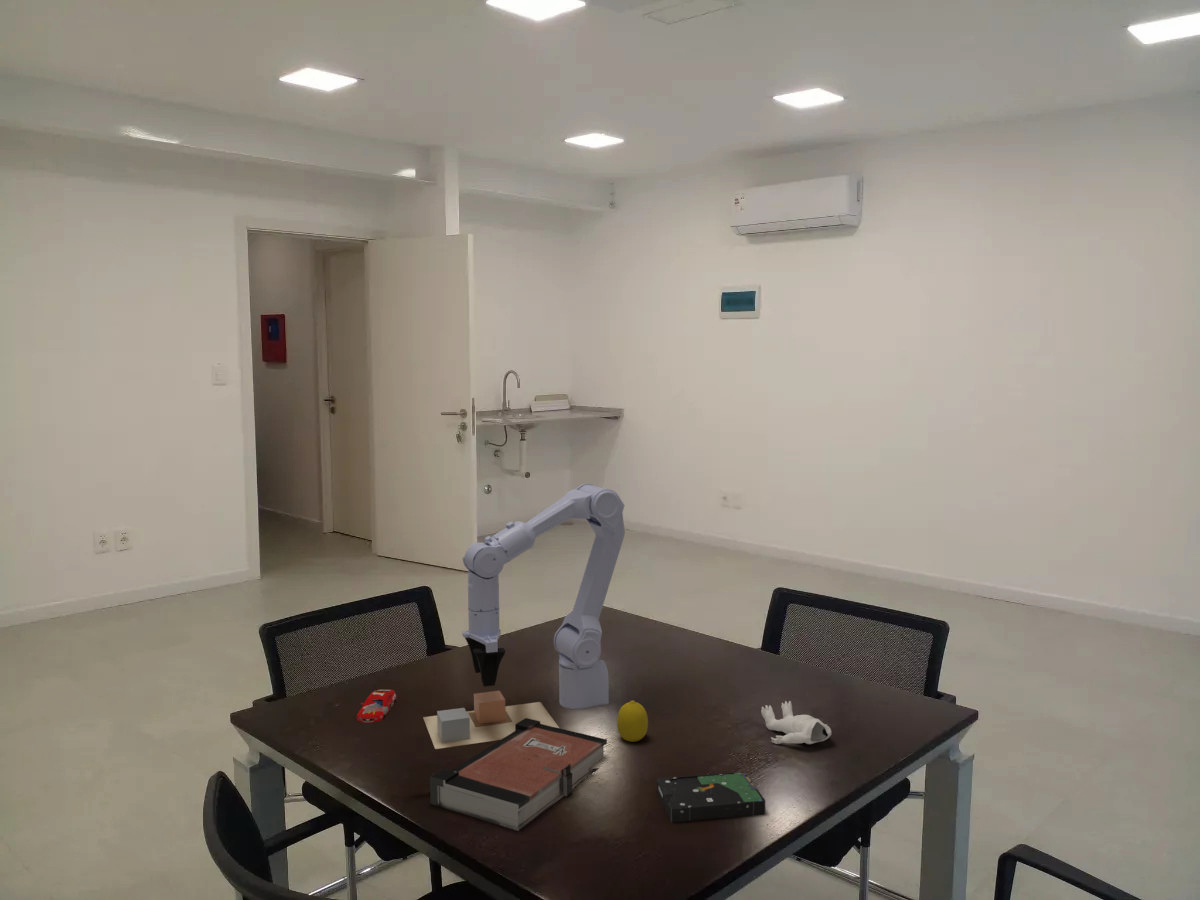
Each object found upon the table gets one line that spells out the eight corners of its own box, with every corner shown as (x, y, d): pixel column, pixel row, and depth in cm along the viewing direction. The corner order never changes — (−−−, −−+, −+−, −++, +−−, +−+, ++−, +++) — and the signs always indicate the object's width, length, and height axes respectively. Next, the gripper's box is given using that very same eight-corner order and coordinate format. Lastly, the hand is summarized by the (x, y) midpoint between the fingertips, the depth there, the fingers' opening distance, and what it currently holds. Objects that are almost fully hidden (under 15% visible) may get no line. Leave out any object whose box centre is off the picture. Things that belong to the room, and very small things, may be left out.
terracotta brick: (499, 710, 177) (499, 690, 176) (505, 720, 172) (505, 699, 172) (474, 713, 175) (473, 693, 175) (479, 723, 171) (479, 703, 170)
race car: (381, 729, 172) (380, 709, 171) (352, 729, 172) (352, 708, 172) (401, 703, 185) (400, 683, 184) (374, 702, 185) (374, 683, 185)
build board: (540, 706, 182) (540, 701, 181) (561, 736, 167) (561, 730, 167) (423, 722, 174) (423, 716, 174) (435, 754, 160) (435, 748, 160)
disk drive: (671, 827, 136) (766, 817, 139) (671, 809, 136) (767, 799, 138) (655, 794, 146) (744, 785, 149) (655, 777, 146) (744, 769, 148)
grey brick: (464, 728, 169) (464, 707, 168) (470, 739, 164) (469, 717, 164) (437, 732, 167) (437, 711, 167) (442, 743, 162) (441, 721, 162)
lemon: (651, 739, 166) (651, 697, 165) (642, 752, 160) (642, 708, 160) (622, 735, 167) (622, 693, 167) (613, 748, 162) (612, 704, 161)
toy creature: (800, 697, 175) (842, 703, 164) (804, 729, 174) (846, 738, 163) (748, 708, 169) (788, 715, 159) (752, 741, 169) (792, 751, 158)
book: (522, 835, 134) (522, 802, 133) (430, 806, 142) (429, 776, 142) (610, 765, 156) (610, 737, 156) (526, 744, 165) (525, 717, 165)
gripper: (455, 599, 176) (456, 668, 178) (469, 620, 162) (470, 694, 164) (491, 596, 178) (492, 664, 180) (508, 616, 165) (509, 689, 166)
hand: (484, 678), depth 172 cm, fingers open, 7 cm apart
